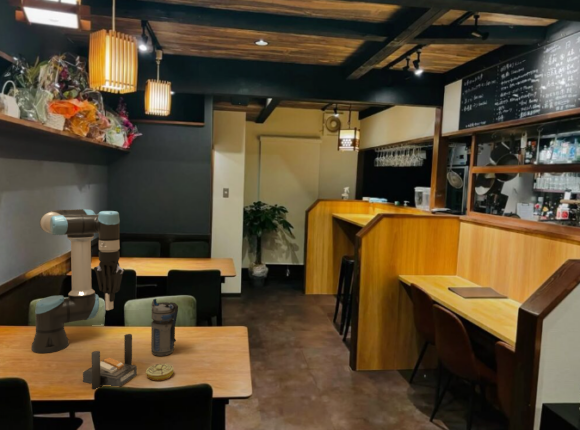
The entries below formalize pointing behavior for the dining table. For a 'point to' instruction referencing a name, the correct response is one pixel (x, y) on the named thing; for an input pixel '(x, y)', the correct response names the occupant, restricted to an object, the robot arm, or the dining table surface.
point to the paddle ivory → (107, 367)
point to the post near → (95, 369)
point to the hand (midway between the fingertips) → (109, 309)
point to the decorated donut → (159, 372)
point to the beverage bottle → (163, 327)
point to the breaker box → (112, 375)
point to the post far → (128, 349)
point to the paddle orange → (114, 363)
